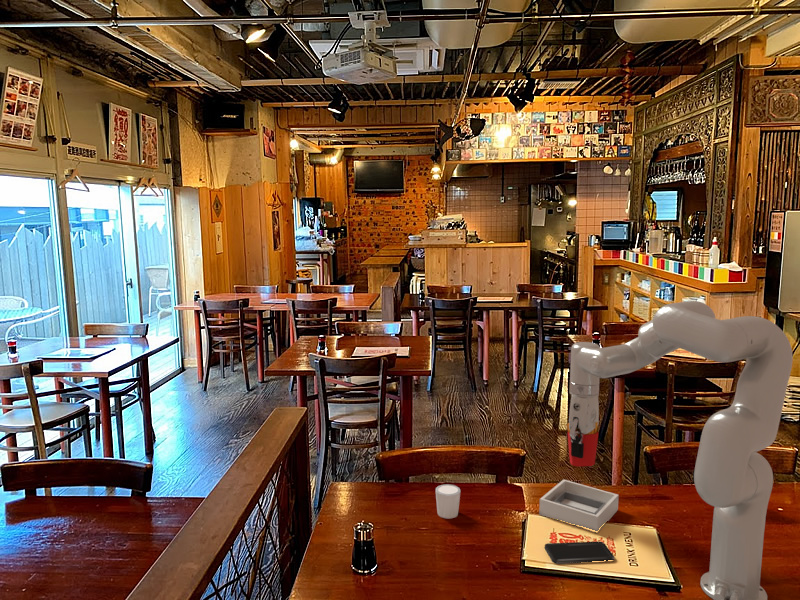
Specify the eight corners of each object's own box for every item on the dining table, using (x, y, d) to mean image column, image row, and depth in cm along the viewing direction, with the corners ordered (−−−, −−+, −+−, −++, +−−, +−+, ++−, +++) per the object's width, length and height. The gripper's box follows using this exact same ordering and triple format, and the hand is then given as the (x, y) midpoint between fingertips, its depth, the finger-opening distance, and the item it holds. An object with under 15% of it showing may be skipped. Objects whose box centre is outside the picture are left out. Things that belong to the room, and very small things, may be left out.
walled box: (596, 533, 153) (597, 516, 152) (539, 514, 163) (539, 499, 162) (617, 510, 165) (618, 494, 165) (563, 493, 175) (563, 479, 175)
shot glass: (464, 516, 162) (465, 492, 161) (441, 521, 159) (442, 496, 158) (453, 505, 168) (453, 482, 167) (431, 510, 165) (431, 486, 165)
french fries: (593, 459, 164) (594, 417, 163) (599, 465, 160) (600, 422, 159) (563, 461, 164) (564, 419, 162) (569, 467, 160) (570, 424, 158)
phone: (616, 558, 140) (553, 561, 139) (615, 563, 140) (553, 565, 139) (602, 541, 148) (543, 543, 147) (602, 545, 148) (543, 547, 147)
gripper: (585, 398, 151) (583, 466, 153) (609, 384, 164) (606, 447, 166) (557, 393, 155) (555, 459, 157) (582, 379, 169) (580, 441, 171)
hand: (581, 452), depth 162 cm, fingers closed on french fries, 5 cm apart
